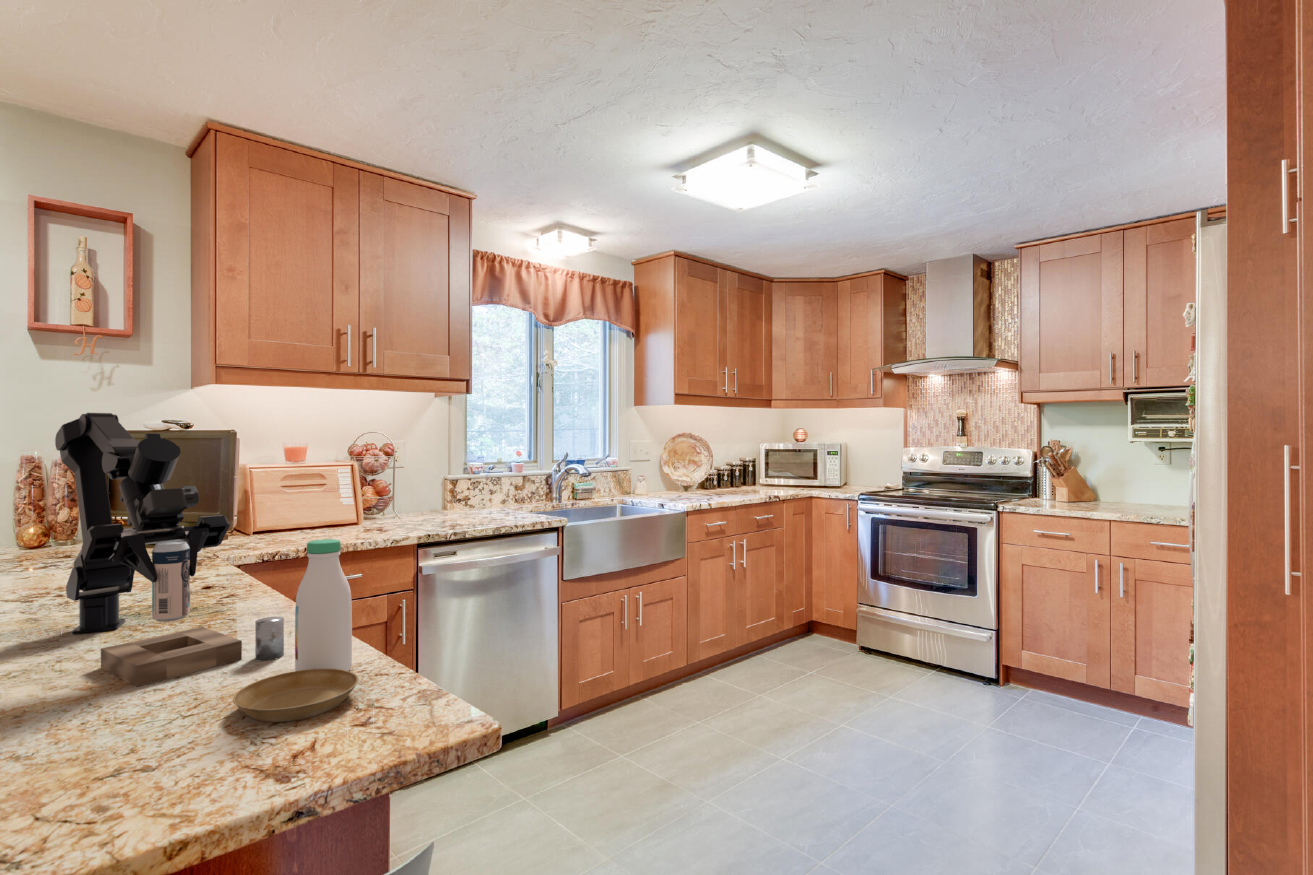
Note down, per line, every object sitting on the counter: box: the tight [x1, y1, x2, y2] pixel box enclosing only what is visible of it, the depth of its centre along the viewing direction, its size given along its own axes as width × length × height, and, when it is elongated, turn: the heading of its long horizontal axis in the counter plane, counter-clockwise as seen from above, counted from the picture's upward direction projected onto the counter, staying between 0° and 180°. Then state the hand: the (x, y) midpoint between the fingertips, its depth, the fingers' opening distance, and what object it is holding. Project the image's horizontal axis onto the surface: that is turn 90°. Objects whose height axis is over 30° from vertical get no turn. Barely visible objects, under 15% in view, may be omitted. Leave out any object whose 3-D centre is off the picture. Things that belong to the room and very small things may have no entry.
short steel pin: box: [254, 616, 285, 662], centre depth 108 cm, size 4×4×6 cm
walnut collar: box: [100, 626, 243, 687], centre depth 104 cm, size 14×14×3 cm
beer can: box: [151, 541, 191, 623], centre depth 105 cm, size 5×5×12 cm
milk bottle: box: [294, 538, 353, 671], centre depth 100 cm, size 8×8×20 cm
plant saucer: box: [232, 669, 360, 723], centre depth 88 cm, size 15×15×3 cm
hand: (174, 577), depth 104 cm, fingers closed on beer can, 5 cm apart
